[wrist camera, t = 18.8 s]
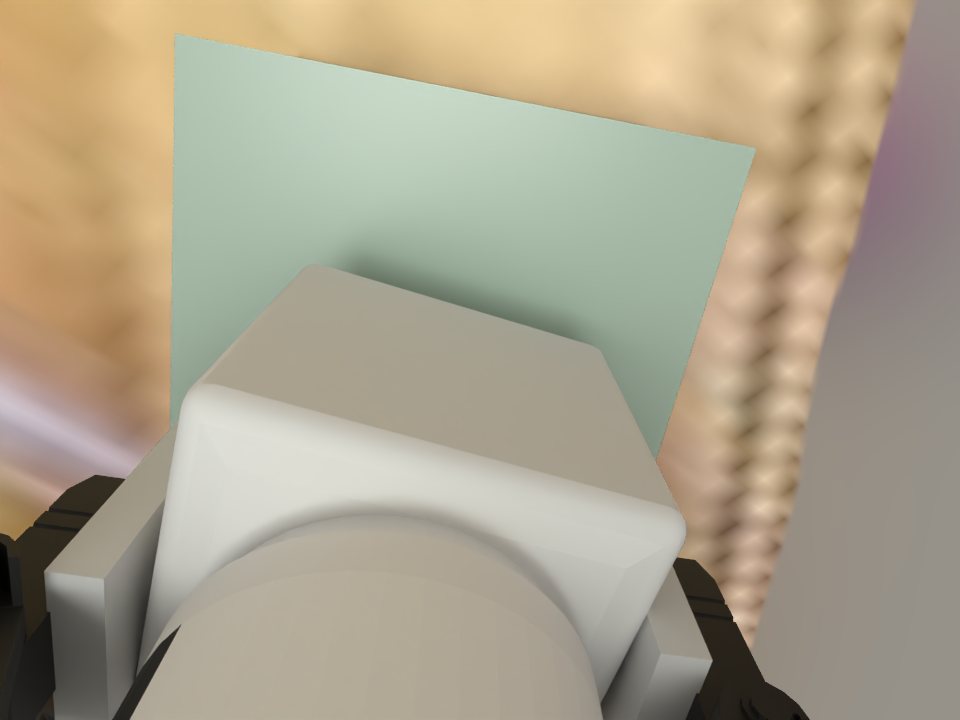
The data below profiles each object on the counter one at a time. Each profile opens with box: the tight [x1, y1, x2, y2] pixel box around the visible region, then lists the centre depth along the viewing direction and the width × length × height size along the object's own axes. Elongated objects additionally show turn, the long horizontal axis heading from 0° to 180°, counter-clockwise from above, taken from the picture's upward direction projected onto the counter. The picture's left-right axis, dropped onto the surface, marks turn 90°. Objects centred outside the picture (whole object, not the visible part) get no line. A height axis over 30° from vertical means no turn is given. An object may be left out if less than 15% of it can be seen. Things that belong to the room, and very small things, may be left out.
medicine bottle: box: [112, 264, 686, 720], centre depth 11 cm, size 7×7×12 cm
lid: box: [170, 33, 756, 461], centre depth 19 cm, size 16×14×1 cm
